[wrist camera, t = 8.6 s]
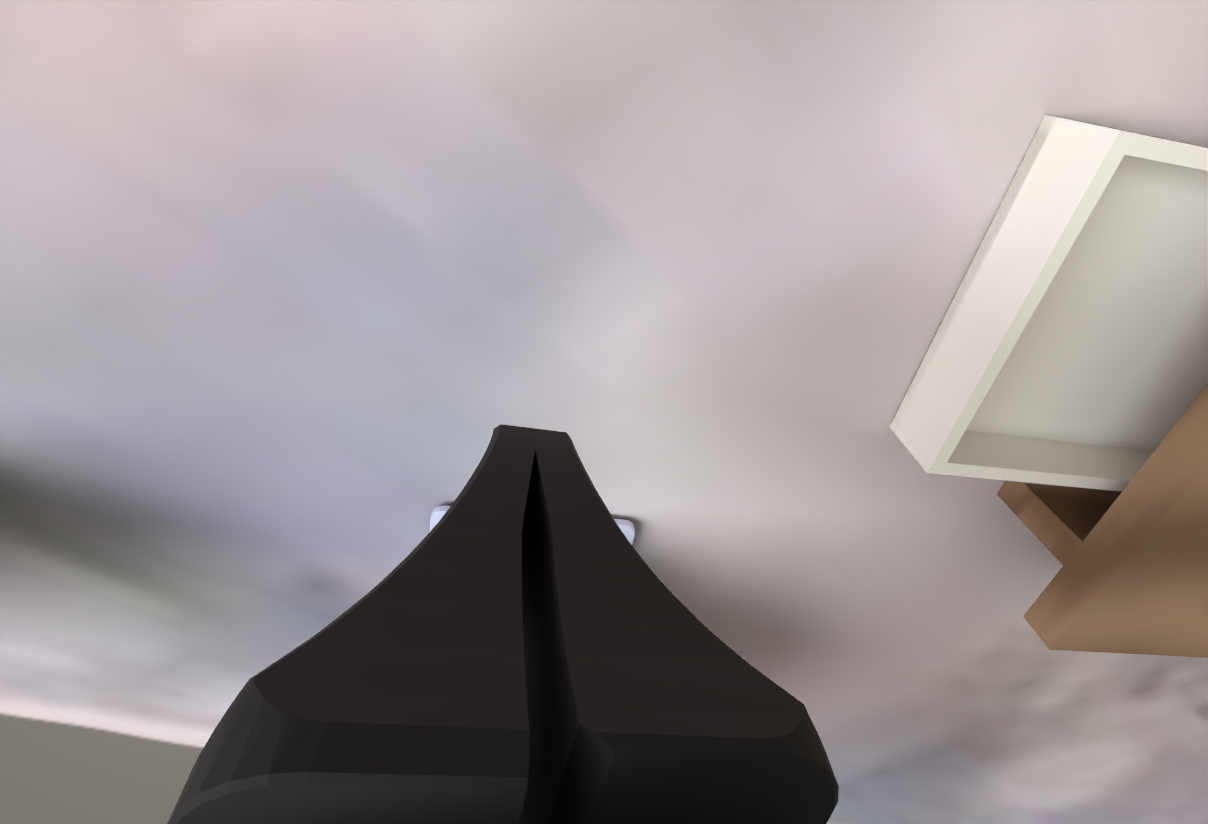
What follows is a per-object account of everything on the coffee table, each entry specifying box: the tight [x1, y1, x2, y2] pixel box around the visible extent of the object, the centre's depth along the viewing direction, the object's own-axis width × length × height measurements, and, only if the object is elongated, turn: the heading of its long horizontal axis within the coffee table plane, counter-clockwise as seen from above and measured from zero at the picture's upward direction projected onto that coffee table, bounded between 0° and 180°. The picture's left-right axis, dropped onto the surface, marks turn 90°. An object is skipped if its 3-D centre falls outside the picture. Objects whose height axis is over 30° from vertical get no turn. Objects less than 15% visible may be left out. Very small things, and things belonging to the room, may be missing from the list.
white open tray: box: [890, 115, 1208, 492], centre depth 21 cm, size 11×15×3 cm
